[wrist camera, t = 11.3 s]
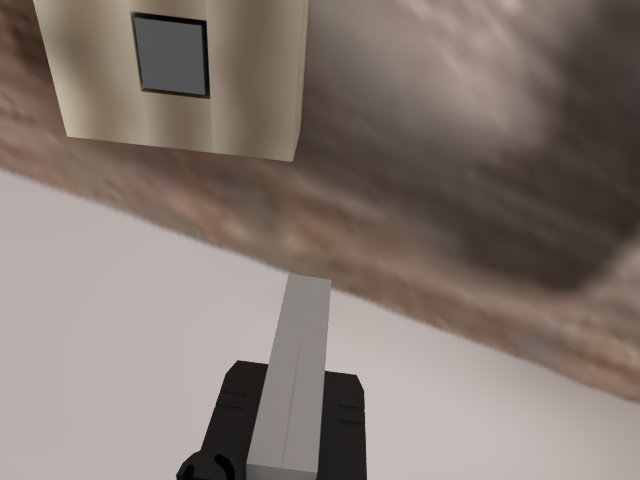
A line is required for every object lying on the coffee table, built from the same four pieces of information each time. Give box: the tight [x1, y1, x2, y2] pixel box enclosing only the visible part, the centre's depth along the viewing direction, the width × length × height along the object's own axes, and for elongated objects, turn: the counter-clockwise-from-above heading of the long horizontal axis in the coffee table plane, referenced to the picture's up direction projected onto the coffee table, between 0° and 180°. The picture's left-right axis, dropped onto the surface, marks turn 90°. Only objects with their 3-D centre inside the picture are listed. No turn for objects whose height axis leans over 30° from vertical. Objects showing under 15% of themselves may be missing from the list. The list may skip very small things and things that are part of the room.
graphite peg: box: [134, 14, 210, 95], centre depth 27 cm, size 4×4×6 cm
